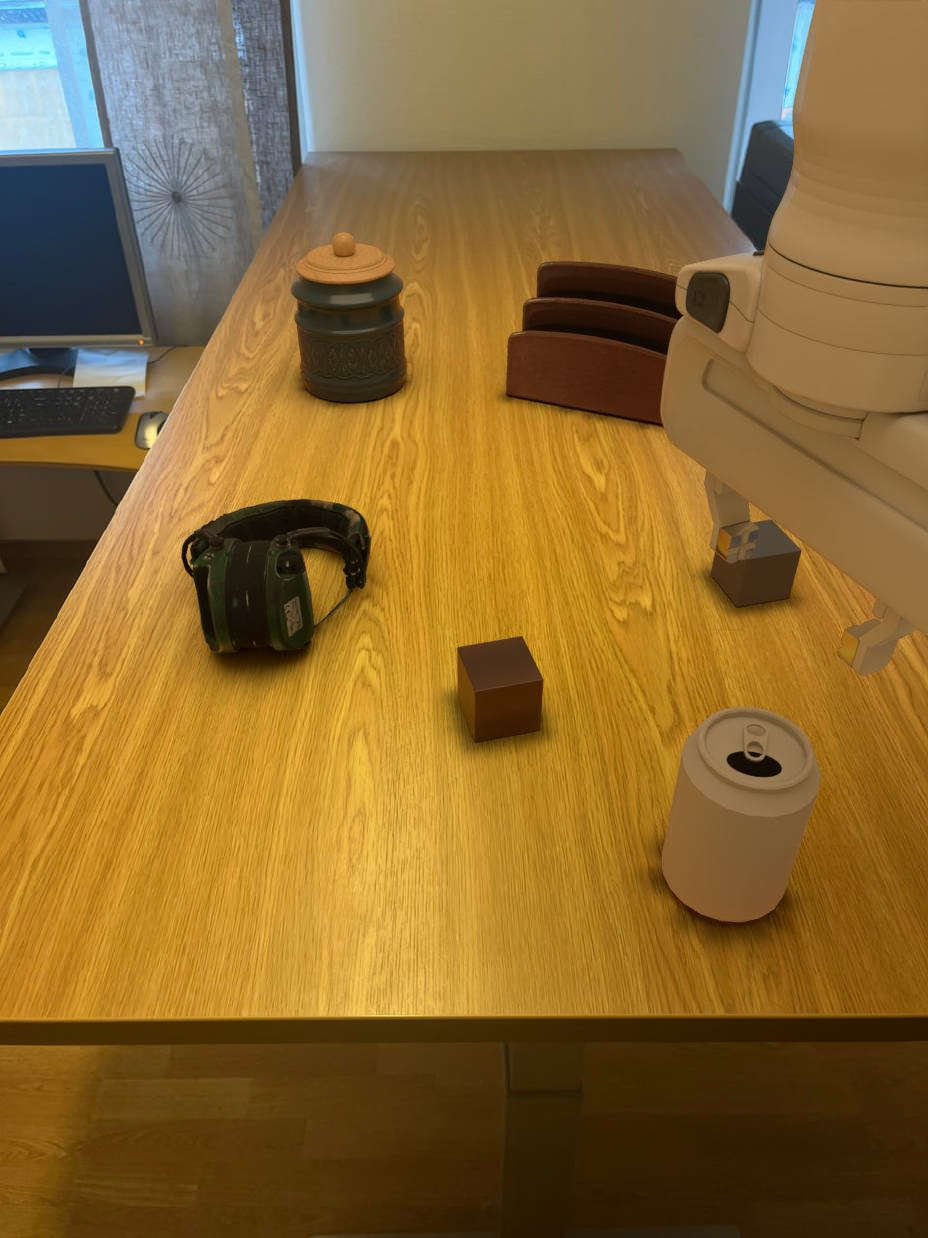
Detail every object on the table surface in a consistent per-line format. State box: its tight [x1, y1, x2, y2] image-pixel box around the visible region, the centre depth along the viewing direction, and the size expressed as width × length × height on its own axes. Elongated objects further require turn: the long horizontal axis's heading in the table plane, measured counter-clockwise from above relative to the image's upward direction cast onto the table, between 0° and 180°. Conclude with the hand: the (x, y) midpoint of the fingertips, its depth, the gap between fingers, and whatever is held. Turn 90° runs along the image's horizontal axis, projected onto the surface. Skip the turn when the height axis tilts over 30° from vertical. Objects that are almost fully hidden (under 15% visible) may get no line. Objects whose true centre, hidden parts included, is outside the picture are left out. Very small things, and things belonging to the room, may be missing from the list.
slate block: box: [710, 519, 803, 608], centre depth 81 cm, size 5×5×5 cm
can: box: [660, 705, 822, 923], centre depth 55 cm, size 8×8×12 cm
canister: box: [290, 231, 408, 403], centre depth 111 cm, size 13×13×18 cm
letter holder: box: [505, 260, 684, 426], centre depth 109 cm, size 10×20×14 cm, turn 65°
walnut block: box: [456, 635, 545, 743], centre depth 69 cm, size 5×5×5 cm
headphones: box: [180, 498, 373, 655], centre depth 78 cm, size 13×13×20 cm
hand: (791, 605), depth 45 cm, fingers open, 8 cm apart
